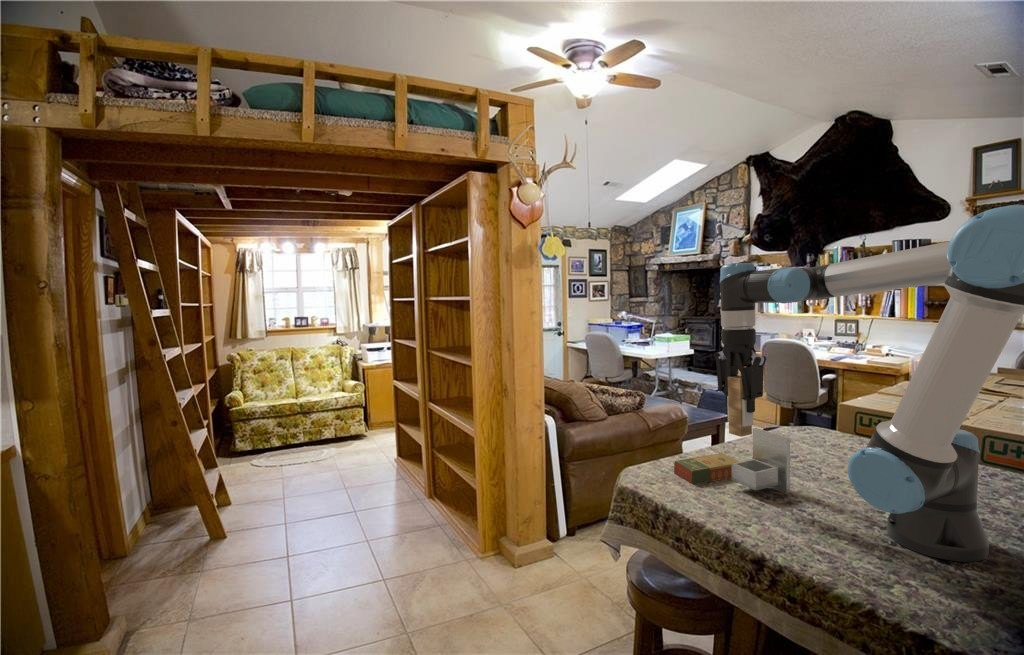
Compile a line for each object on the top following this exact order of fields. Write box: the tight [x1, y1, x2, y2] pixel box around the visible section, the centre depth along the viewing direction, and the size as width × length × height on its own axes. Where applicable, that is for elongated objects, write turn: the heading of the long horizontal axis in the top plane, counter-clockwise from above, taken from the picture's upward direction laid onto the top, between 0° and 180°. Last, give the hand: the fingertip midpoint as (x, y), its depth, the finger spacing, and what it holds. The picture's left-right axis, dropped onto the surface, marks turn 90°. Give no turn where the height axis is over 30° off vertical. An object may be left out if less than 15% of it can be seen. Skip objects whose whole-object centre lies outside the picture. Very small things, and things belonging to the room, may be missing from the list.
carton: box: [673, 452, 741, 485], centre depth 134 cm, size 8×16×4 cm, turn 105°
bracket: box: [731, 427, 791, 495], centre depth 123 cm, size 10×10×14 cm
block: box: [727, 374, 753, 437], centre depth 119 cm, size 4×4×14 cm
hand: (740, 423), depth 119 cm, fingers closed on block, 4 cm apart
